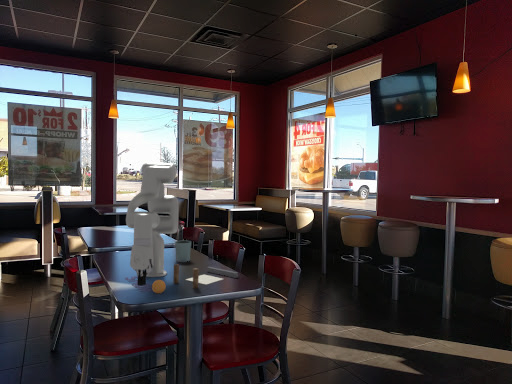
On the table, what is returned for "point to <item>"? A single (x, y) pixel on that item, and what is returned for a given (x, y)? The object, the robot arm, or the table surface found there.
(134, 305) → the table surface
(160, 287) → the ball
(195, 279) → the right post
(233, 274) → the wall
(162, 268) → the robot arm
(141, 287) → the signage
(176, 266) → the left post
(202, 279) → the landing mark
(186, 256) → the pale green bucket
